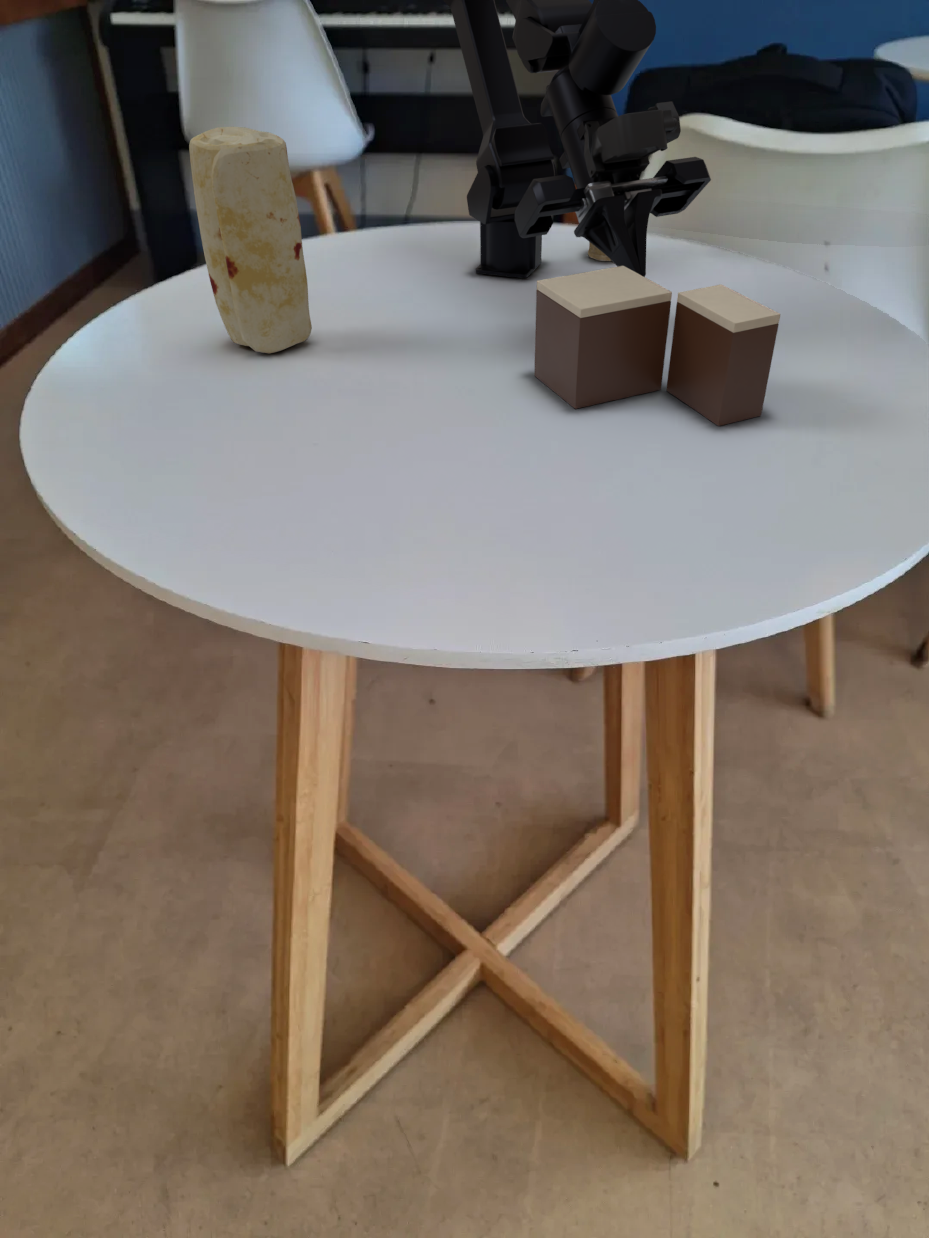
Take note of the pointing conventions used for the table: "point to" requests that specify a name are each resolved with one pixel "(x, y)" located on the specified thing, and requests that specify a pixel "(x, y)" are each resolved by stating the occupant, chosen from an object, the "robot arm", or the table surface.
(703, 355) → the cake slice
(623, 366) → the box
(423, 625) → the table surface
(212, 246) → the food model
